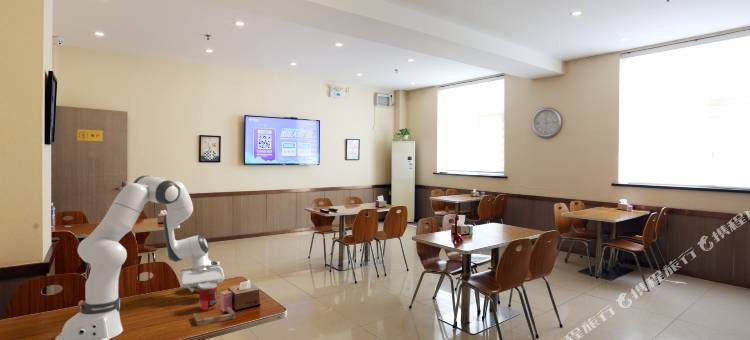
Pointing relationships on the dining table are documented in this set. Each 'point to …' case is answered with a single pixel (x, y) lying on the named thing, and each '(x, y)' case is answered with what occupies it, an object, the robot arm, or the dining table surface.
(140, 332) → the dining table surface
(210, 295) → the canned food
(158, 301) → the dining table surface
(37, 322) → the dining table surface
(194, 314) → the tray
